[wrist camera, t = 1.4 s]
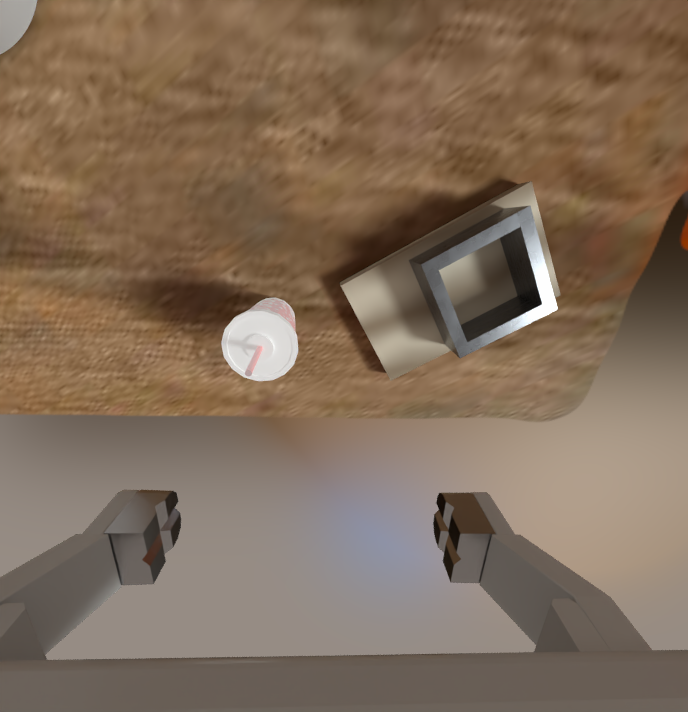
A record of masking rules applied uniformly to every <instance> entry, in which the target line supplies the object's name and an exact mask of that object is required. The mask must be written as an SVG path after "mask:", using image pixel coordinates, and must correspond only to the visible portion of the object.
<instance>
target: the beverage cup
mask: <svg viewBox="0 0 688 712" xmlns="http://www.w3.org/2000/svg"><path fill="white" fill-rule="evenodd" d="M221 344H222V349H223V354H224V358H225V359H226V361H227V362H228V364H229V365H230V367H231V368H232V369H233V370H234V371H236V372H237V373H239V374H240V375H241V376H243V377H245V378H248V379H252V380H256V381H267V380H274V379H276V378H278V377H280V376H282V375H284V374H286V372H287V371H288V370H289V369H290V368H291V367H292V366H293V365H294V362H295V359H296V356H297V353H298V342H297V335H296V333H295V315H294V312H293V310H292V308H291V306H290V305H288V304H287V303H286V302H285V301H284V300H281V299H278V298H266V299H264V300H262V301H260V302H258V303H257V304H256V305H254V306H253V307H252V308H251V309H250V310H248V311H246V312H244V313H242V314H240V315H238V316H236V317H235V318H234V319H233V320H232V321H231V322H230V324H229V325H228V326H227V327H226V328H225V330H224V334H223V338H222V342H221Z"/></svg>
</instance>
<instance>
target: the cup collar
mask: <svg viewBox="0 0 688 712" xmlns="http://www.w3.org/2000/svg"><path fill="white" fill-rule="evenodd" d="M499 238H500V241H501V244H502V247H503V250H504V254H505V257H506V260H507V263H508V267H509V270H510V273H511V276H512V280H513V283H514V286H515V289H516V293H517V297H515V298H513V299H511V300H509V301H507V302H505V303H503V304H501V305H499V306H497V307H495V308H493V309H491V310H489V311H487V312H485V313H483V314H481V315H480V316H478V317H476V318H474V319H472V320H470V321H468V322H466V323H464V324H462V325H460V323H459V320H458V318H457V315H456V313H455V310H454V308H453V305H452V303H451V300H450V297H449V295H448V292H447V290H446V287H445V285H444V282H443V280H442V277H441V275H440V272H439V270H441V269H442V268H444V267H446V266H448V265H450V264H452V263H454V262H455V261H457V260H459V259H461V258H463V257H465V256H467V255H469V254H470V253H472V252H474V251H476V250H478V249H480V248H482V247H484V246H485V245H487V244H489V243H491V242H493V241H495V240H497V239H499ZM409 262H410V265H411V267H412V269H413V272H414V274H415V276H416V279H417V281H418V283H419V286H420V288H421V290H422V293H423V295H424V297H425V300H426V302H427V304H428V307H429V309H430V311H431V314H432V316H433V318H434V321H435V323H436V325H437V328H438V330H439V332H440V335H441V337H442V339H443V342H444V344H445V345H446V346H447V347H448V348H449V349H450V350H451V351H452V352H454V353H455V354H456V355H457V356H458V357H459V358H461V357H463V356H465V355H467V354H469V353H471V352H473V351H475V350H477V349H479V348H481V347H483V346H485V345H487V344H489V343H491V342H493V341H495V340H497V339H499V338H501V337H503V336H505V335H507V334H509V333H511V332H513V331H515V330H517V329H519V328H521V327H523V326H525V325H527V324H529V323H531V322H533V321H535V320H537V319H539V318H541V317H543V316H545V315H547V314H549V313H551V312H553V311H555V310H557V305H556V301H555V297H554V294H553V290H552V286H551V282H550V278H549V274H548V271H547V267H546V263H545V259H544V255H543V251H542V248H541V244H540V240H539V236H538V232H537V229H536V225H535V221H534V217H533V213H532V209H531V206H521V207H512V208H504V209H502V210H500V211H498V212H497V213H495V214H493V215H491V216H489V217H487V218H486V219H484V220H482V221H480V222H478V223H476V224H475V225H473V226H471V227H469V228H467V229H465V230H463V231H462V232H460V233H458V234H456V235H454V236H452V237H451V238H449V239H447V240H445V241H443V242H441V243H440V244H438V245H436V246H434V247H432V248H430V249H429V250H427V251H425V252H423V253H421V254H419V255H418V256H416V257H414V258H412V259H410V260H409Z"/></svg>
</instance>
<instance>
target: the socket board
mask: <svg viewBox="0 0 688 712" xmlns="http://www.w3.org/2000/svg"><path fill="white" fill-rule="evenodd" d="M521 206H531V209H532V213H533V217H534V221H535V225H536V229H537V232H538V236H539V240H540V244H541V248H542V251H543V255H544V259H545V263H546V267H547V271H548V274H549V278H550V282H551V286H552V290H553V294H554V297H555V298H556V297H558V296H560V291H559V287H558V284H557V280H556V276H555V272H554V268H553V264H552V260H551V256H550V252H549V248H548V244H547V240H546V236H545V232H544V228H543V224H542V220H541V216H540V213H539V209H538V205H537V201H536V197H535V193H534V189H533V185H532V181H530V182H526V183H521V184H518V185H516V186H514V187H513V188H511V189H509V190H507V191H505V192H503V193H502V194H500V195H498V196H496V197H494V198H492V199H491V200H489V201H487V202H485V203H483V204H482V205H480V206H478V207H476V208H474V209H472V210H471V211H469V212H467V213H465V214H463V215H462V216H460V217H458V218H456V219H454V220H452V221H451V222H449V223H447V224H445V225H443V226H442V227H440V228H438V229H436V230H434V231H432V232H431V233H429V234H427V235H425V236H423V237H422V238H420V239H418V240H416V241H414V242H412V243H411V244H409V245H407V246H405V247H403V248H402V249H400V250H398V251H396V252H394V253H392V254H391V255H389V256H387V257H385V258H383V259H381V260H380V261H378V262H376V263H374V264H372V265H371V266H369V267H367V268H365V269H363V270H361V271H360V272H358V273H356V274H354V275H352V276H351V277H349V278H347V279H345V280H343V281H341V282H340V285H341V287H342V289H343V291H344V293H345V295H346V297H347V299H348V301H349V303H350V304H351V306H352V308H353V310H354V312H355V314H356V316H357V318H358V320H359V322H360V323H361V325H362V327H363V329H364V331H365V333H366V335H367V337H368V339H369V340H370V342H371V344H372V346H373V348H374V350H375V352H376V354H377V356H378V357H379V359H380V361H381V363H382V365H383V367H384V369H385V371H386V373H387V375H388V376H389V378H390V380H393V379H395V378H397V377H399V376H401V375H403V374H405V373H407V372H409V371H411V370H413V369H415V368H417V367H419V366H421V365H423V364H425V363H427V362H429V361H431V360H433V359H435V358H437V357H439V356H441V355H443V354H445V353H447V352H449V351H451V350H450V349H449V348H448V347H447V346H446V345H445V344H444V342H443V339H442V337H441V335H440V332H439V330H438V328H437V325H436V323H435V321H434V318H433V316H432V314H431V311H430V309H429V307H428V304H427V302H426V300H425V297H424V295H423V293H422V290H421V288H420V286H419V283H418V281H417V279H416V276H415V274H414V272H413V269H412V267H411V265H410V262H409V260H410V259H412V258H414V257H416V256H418V255H419V254H421V253H423V252H425V251H427V250H429V249H430V248H432V247H434V246H436V245H438V244H440V243H441V242H443V241H445V240H447V239H449V238H451V237H452V236H454V235H456V234H458V233H460V232H462V231H463V230H465V229H467V228H469V227H471V226H473V225H475V224H476V223H478V222H480V221H482V220H484V219H486V218H487V217H489V216H491V215H493V214H495V213H497V212H498V211H500V210H502V209H504V208H512V207H521ZM439 272H440V275H441V277H442V280H443V282H444V285H445V287H446V290H447V292H448V295H449V297H450V300H451V303H452V305H453V308H454V310H455V313H456V315H457V318H458V320H459V323H460V325H462V324H464V323H466V322H468V321H470V320H472V319H474V318H476V317H478V316H480V315H481V314H483V313H485V312H487V311H489V310H491V309H493V308H495V307H497V306H499V305H501V304H503V303H505V302H507V301H509V300H511V299H513V298H515V297H517V293H516V289H515V286H514V283H513V280H512V276H511V273H510V270H509V267H508V263H507V260H506V257H505V254H504V250H503V247H502V244H501V241H500V238H499V239H497V240H495V241H493V242H491V243H489V244H487V245H485V246H484V247H482V248H480V249H478V250H476V251H474V252H472V253H470V254H469V255H467V256H465V257H463V258H461V259H459V260H457V261H455V262H454V263H452V264H450V265H448V266H446V267H444V268H442V269H441V270H439Z"/></svg>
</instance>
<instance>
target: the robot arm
mask: <svg viewBox="0 0 688 712" xmlns="http://www.w3.org/2000/svg"><path fill="white" fill-rule="evenodd" d="M36 4H37V0H0V54H2V53H4V52H5V51H7V50H8V49H10V48H11V47H12V46H13V45H15V44H16V43H17V42H18V41H19V40H20V38H21V37H22V36H23V34H24V33H25V31H26V30H27V28H28V26H29V24H30V22H31V20H32V17H33V15H34V12H35V8H36ZM177 503H178V497H177V493H176V492H174V491H160V490H159V491H158V490H122V491H120V492H119V493H117V495H116V496H115V497H114V498H113V499H112V500H111V502H110V503H109V504H108V505H107V506H106V507H105V508H104V509H103V511H102V512H101V513H100V514H99V515H98V516H97V518H96V519H95V520H94V521H93V522H92V523H91V524H90V526H89V527H88V528H87V529H86V530H85V531H84V532H83V534H76V535H74V536H72V537H70V538H69V539H67V540H66V541H63V542H62V543H60V544H58V545H56V546H55V547H53V548H51V549H49V550H48V551H46V552H44V553H42V554H41V555H39V556H37V557H35V558H33V559H32V560H30V561H28V562H26V563H25V564H23V565H21V566H20V567H18V568H16V569H14V570H12V571H11V572H9V573H7V574H5V575H3V576H2V577H0V712H688V650H652V649H651V648H650V647H649V645H648V644H647V643H646V642H645V640H644V639H643V638H642V636H641V635H640V634H639V633H638V631H637V630H636V629H635V628H634V626H633V625H632V624H631V623H630V621H629V620H628V619H627V617H626V616H625V615H624V614H623V612H622V611H621V610H620V609H619V607H618V606H617V605H616V604H615V602H614V601H613V600H612V599H611V597H609V596H608V595H607V594H605V593H604V592H602V591H601V590H599V589H598V588H596V587H595V586H594V585H592V584H591V583H589V582H588V581H586V580H585V579H583V578H582V577H581V576H579V575H577V574H576V573H575V572H573V571H572V570H570V569H569V568H568V567H566V566H564V565H563V564H562V563H560V562H559V561H557V560H556V559H554V558H553V557H552V556H550V555H549V554H547V553H546V552H544V551H543V550H541V549H540V548H539V547H537V546H535V545H534V544H532V543H531V542H530V541H528V540H527V539H525V538H524V537H523V536H521V535H515V534H514V532H513V531H512V529H511V527H510V526H509V524H508V523H507V521H506V520H505V518H504V517H503V515H502V513H501V512H500V510H499V509H498V507H497V506H496V504H495V503H494V501H493V500H492V498H491V496H490V495H489V494H488V493H486V492H473V493H439V495H438V497H437V505H438V508H439V510H438V511H437V512H436V513H435V514H434V522H433V525H434V535H435V539H436V543H437V545H438V548H440V549H441V550H442V551H443V552H444V557H443V563H444V565H445V568H446V571H447V574H448V576H449V579H450V582H453V583H455V582H456V583H480V586H481V587H482V588H483V589H484V590H485V591H486V592H487V593H488V594H489V595H490V596H491V597H492V598H493V600H494V601H495V602H496V603H497V604H498V605H499V606H500V607H501V608H502V609H503V610H504V611H505V612H506V613H507V614H508V615H509V617H510V618H511V619H512V620H513V621H514V622H515V623H516V624H517V625H518V626H519V627H520V628H521V629H522V631H524V633H525V634H526V635H528V637H529V638H530V639H531V640H532V641H533V642H534V643H535V644H536V648H535V651H534V652H524V653H459V654H402V655H349V656H348V655H347V656H345V655H344V656H283V657H282V656H279V657H212V658H211V657H210V658H150V659H149V658H148V659H147V658H146V659H86V660H85V659H84V660H47V659H46V656H45V654H46V653H47V652H49V651H50V650H51V649H52V648H53V647H54V646H55V645H56V644H58V643H59V642H60V641H61V640H62V639H63V638H64V637H66V636H67V635H68V634H69V633H70V632H71V631H72V630H73V629H75V628H76V627H77V626H78V625H79V624H80V623H81V622H83V620H85V619H86V618H87V617H88V616H89V615H90V614H92V613H93V612H94V611H95V610H96V609H97V608H98V607H99V606H101V605H102V604H103V603H104V602H105V601H106V600H107V599H108V598H110V597H111V596H112V595H113V594H114V593H115V592H116V591H117V590H119V589H120V588H121V585H139V584H140V585H142V584H154V582H155V581H156V579H157V577H158V575H159V573H160V571H161V569H162V567H163V566H164V564H165V562H166V561H165V556H164V554H165V553H166V552H168V551H169V550H170V549H172V548H173V547H174V545H175V543H176V541H177V539H178V535H179V532H180V528H181V516H180V512H179V511H177V510H176V509H175V506H176V504H177Z"/></svg>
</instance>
